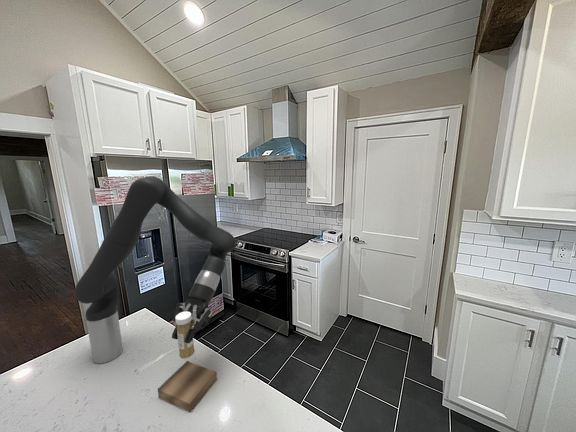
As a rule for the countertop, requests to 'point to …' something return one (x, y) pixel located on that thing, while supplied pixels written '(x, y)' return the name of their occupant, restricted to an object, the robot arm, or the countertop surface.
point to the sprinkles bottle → (184, 334)
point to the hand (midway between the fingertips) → (180, 340)
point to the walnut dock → (187, 385)
